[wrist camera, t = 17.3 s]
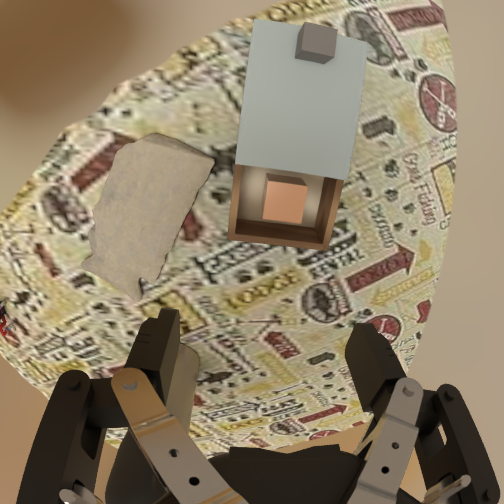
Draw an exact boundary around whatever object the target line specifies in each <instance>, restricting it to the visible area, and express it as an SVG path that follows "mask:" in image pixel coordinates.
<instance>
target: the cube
mask: <svg viewBox="0 0 504 504" xmlns="http://www.w3.org/2000/svg"><path fill="white" fill-rule="evenodd" d="M307 190H308V186H307V185H306V183H305V182H304V181H303V180H302V178H297V177H290V176H283V175H276V174H269V173H266V177H265V184H264V191H263V197H262V204H261V210H262V219H268V220H276V221H284V222H291V223H299V224H301V221H302V216H303V210H304V205H305V200H306V195H307Z"/></svg>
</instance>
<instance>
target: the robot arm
mask: <svg viewBox="0 0 504 504" xmlns="http://www.w3.org/2000/svg"><path fill="white" fill-rule="evenodd" d="M395 355H396V354H395V352H394V351H393V350H392V347H391V345H390V343H389V341H388V340H387V339H386V338H385V337H384V336H383V335H382V334H381V333H378V332H377V330H376V328H375V326H374V325H373V323H356V324H355V326H354V328H353V331H352V333H351V336H350V338H349V340H348V343H347V345H346V348H345V359H346V362H347V365H348V368H349V370H350V373H351V376H352V379H353V382H354V385H355V388H356V391H357V394H358V397H359V400H360V403H361V406H362V409H363V412H369V411H373V414H374V415H373V416H372V418H371V420H370V422H369V424H368V426H367V428H366V430H365V432H364V434H363V436H362V438H361V440H360V442H359V444H358V446H357V448H356V449H355V451H354V452H353V454H351V453H348V452H344V451H340V447H339V444H334V445H324V446H313V447H310V448H307V449H303V450H300V451H296V452H293V453H288V454H286V453H280V452H275V451H270V450H266V449H261V448H248V447H230V450H229V453H226V454H221V455H218V456H215V457H212V458H210V459H208V460H207V459H206V457H205V456H204V455H203V453H202V452H201V451H200V450H199V448H198V447H197V446H196V444H195V443H194V442H193V440H192V439H191V437H190V436H189V435H188V434H189V427H190V420H191V413H192V407H193V401H194V395H195V388H196V382H197V377H198V371H199V365H200V360H199V357H198V355H197V354H196V353H195V352H194V351H193V350H192V349H191V348H189V347H187V346H186V345H183V344H180V320H179V310H178V309H170V308H161V310H160V313H159V316H158V318H150V317H149V318H148V319H147V320H146V321H145V322H144V323H142V324H141V327H140V329H139V332H138V335H137V336H136V339H135V342H134V344H133V346H132V349H131V351H130V354H129V356H128V359H127V361H126V364H125V366H124V368H123V369H121V370H119V371H117V372H116V373H115V374H114V375H113V377H110V378H103V379H90V378H89V376H88V375H87V374H86V373H85V372H83V371H81V370H69V371H66V372H65V373H63V374H62V375H61V376H60V377H59V379H58V381H57V383H56V386H55V388H54V390H53V393H52V395H51V397H50V400H49V402H48V405H47V407H46V410H45V412H44V415H43V417H42V420H41V422H40V425H39V428H38V431H37V433H36V436H35V439H34V442H33V445H32V448H31V451H30V454H29V457H28V460H27V464H26V467H25V471H24V474H23V478H22V481H21V486H20V490H19V493H18V497H17V502H16V504H104V503H103V502H102V501H101V500H100V499H99V498H98V497H97V496H95V495H94V488H95V483H96V477H97V472H98V467H99V462H100V457H101V453H102V448H103V444H104V439H105V435H106V431H107V428H122V427H128V431H127V433H126V435H125V437H124V439H123V440H122V442H121V444H120V447H119V449H118V452H117V456H116V459H115V462H114V465H113V468H112V470H111V473H110V476H109V480H108V483H107V486H106V492H105V502H106V504H497V503H498V501H499V499H500V489H499V485H498V483H497V480H496V476H495V473H494V471H493V468H492V465H491V463H490V460H489V457H488V454H487V452H486V449H485V447H484V444H483V442H482V440H481V437H480V435H479V432H478V430H477V428H476V426H475V423H474V421H473V419H472V417H471V415H470V413H469V410H468V408H467V406H466V404H465V402H464V400H463V398H462V396H461V394H460V392H459V391H458V389H457V388H456V387H454V386H452V385H450V384H443V385H441V386H440V387H439V388H438V389H437V391H431V390H424V389H422V387H421V385H420V384H419V383H418V382H417V381H416V380H414V379H411V378H407V376H406V374H405V372H404V370H403V368H402V366H401V364H400V362H399V360H398V358H397V356H395ZM441 424H442V427H443V430H444V432H445V435H446V437H447V441H446V445H444V442H443V439H442V437H441V434H440V432H439V429H438V427H439V426H440V425H441ZM414 447H415V450H416V454H417V457H418V460H419V464H420V467H421V471H422V474H423V478H424V482H425V486H426V490H427V492H426V494H425V497H424V501H423V502H422V503H421V502H419V501H418V500H416V499H415V498H414V497H412V496H411V495H409V494H408V493H407V492H405V491H404V490H402V489H401V488H400V487H399V486H400V484H401V481H402V479H403V476H404V474H405V471H406V468H407V466H408V463H409V460H410V457H411V454H412V451H413V448H414Z"/></svg>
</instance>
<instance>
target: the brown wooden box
mask: <svg viewBox="0 0 504 504" xmlns="http://www.w3.org/2000/svg"><path fill="white" fill-rule="evenodd" d="M266 173H269V174H276V175H283V176H290V177H297V178H302V180H303V181H304V182H305V183H306V185H307V186H308V190H307V195H306V200H305V205H304V210H303V216H302V221H301V224H299V223H291V222H284V221H276V220H268V219H262V210H261V204H262V197H263V191H264V184H265V177H266ZM343 182H344V180H340V179H335V178H329V177H324V176H318V175H312V174H306V173H299V172H293V171H286V170H279V169H272V168H264V167H256V166H248V165H239V164H235V170H234V179H233V188H232V198H231V207H230V217H229V227H228V237H227V240H235V241H245V242H254V243H263V244H272V245H280V246H289V247H298V248H307V249H315V250H324V251H328V247H329V243H330V239H331V235H332V231H333V227H334V222H335V218H336V214H337V209H338V205H339V201H340V196H341V191H342V187H343Z"/></svg>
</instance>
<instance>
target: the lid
mask: <svg viewBox="0 0 504 504" xmlns="http://www.w3.org/2000/svg"><path fill="white" fill-rule="evenodd" d="M337 31H338V29H334V28H330V27H326V26H322V25H317V24H313V23H308V22H305V23H304V24H303V26H300V25H294V24H288V23H282V22H276V21H268V20H260V19H254V25H253V31H252V38H251V45H250V51H249V58H248V65H247V72H246V80H245V87H244V94H243V102H242V110H241V118H240V126H239V134H238V142H237V150H236V159H235V164H239V165H248V166H256V167H264V168H272V169H279V170H286V171H293V172H299V173H306V174H312V175H318V176H324V177H329V178H335V179H340V180H346V181H347V178H348V173H349V168H350V163H351V158H352V152H353V147H354V141H355V136H356V130H357V124H358V118H359V111H360V105H361V98H362V91H363V83H364V75H365V67H366V58H367V49H368V43H366V42H363V41H360V40H357V39H353V38H350V37H346V36H343V35H339V34H337Z"/></svg>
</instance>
